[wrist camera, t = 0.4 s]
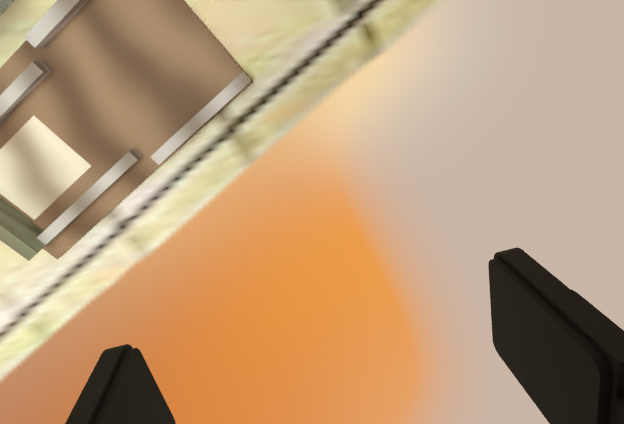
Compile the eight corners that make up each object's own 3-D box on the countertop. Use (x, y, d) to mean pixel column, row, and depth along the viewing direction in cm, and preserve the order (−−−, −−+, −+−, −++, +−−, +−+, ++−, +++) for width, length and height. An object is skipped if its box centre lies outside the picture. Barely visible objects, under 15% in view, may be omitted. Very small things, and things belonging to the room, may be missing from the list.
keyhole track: (127, -65, 32) (111, -76, 29) (252, 81, 37) (251, 85, 34) (-78, 154, 36) (-110, 164, 33) (59, 257, 41) (42, 275, 38)
